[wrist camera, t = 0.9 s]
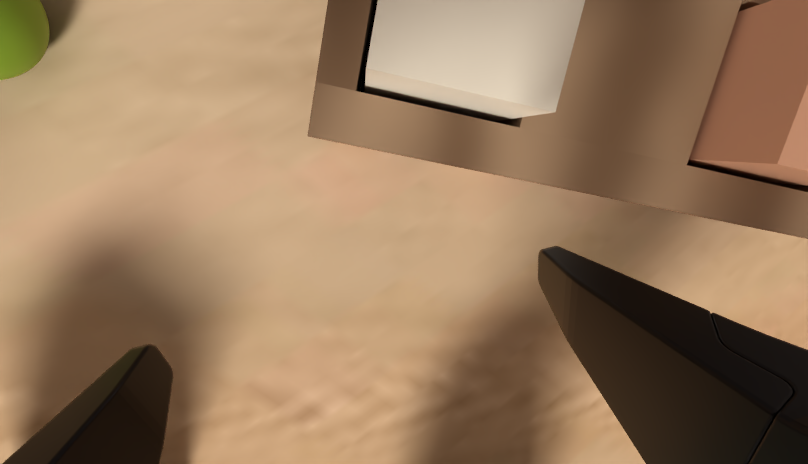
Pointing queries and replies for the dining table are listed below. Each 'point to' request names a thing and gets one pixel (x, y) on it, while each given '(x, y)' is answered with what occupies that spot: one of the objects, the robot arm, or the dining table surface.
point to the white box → (473, 54)
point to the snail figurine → (21, 36)
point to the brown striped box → (576, 113)
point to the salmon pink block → (760, 98)
